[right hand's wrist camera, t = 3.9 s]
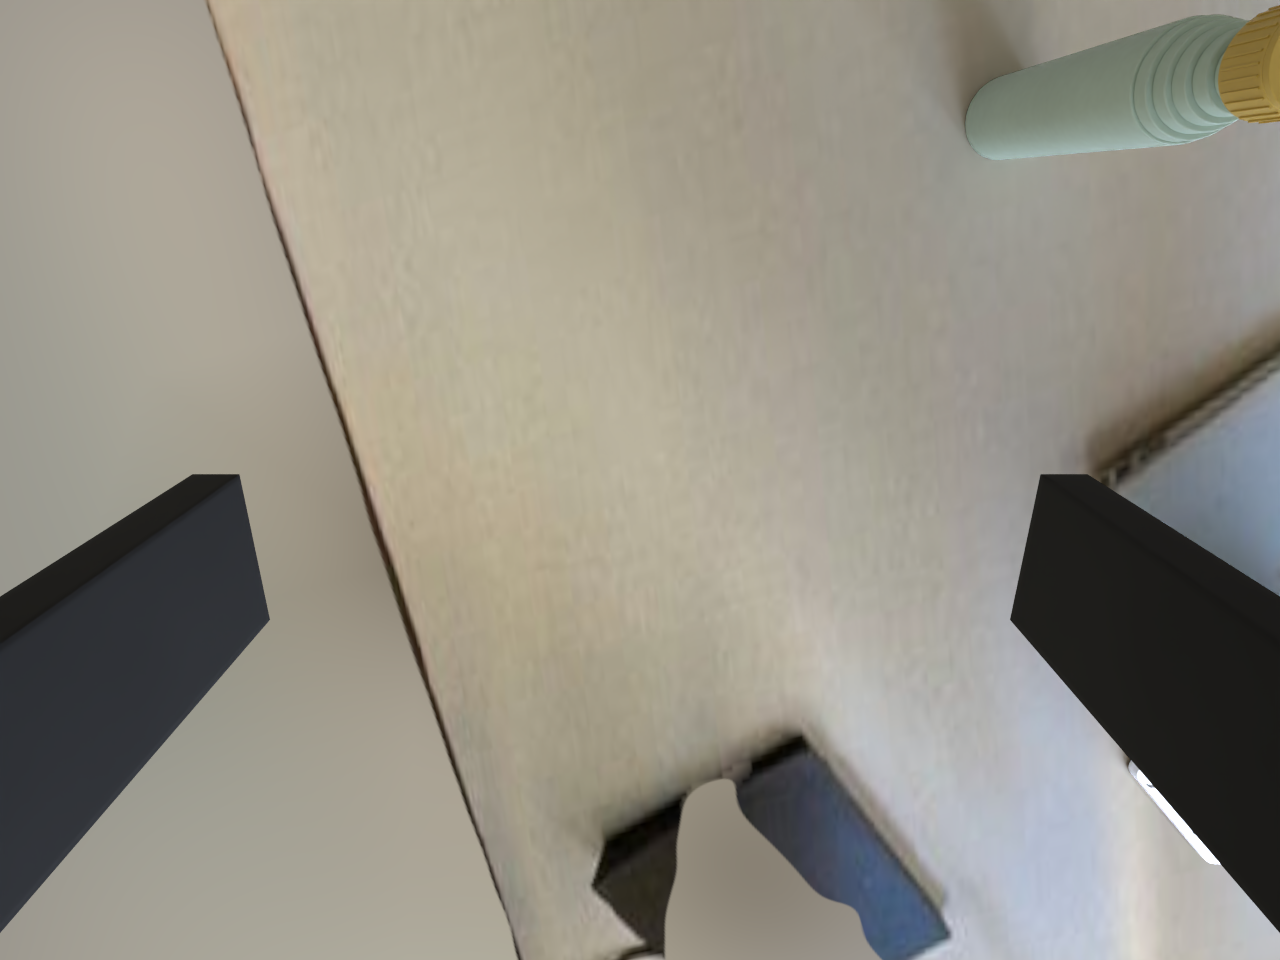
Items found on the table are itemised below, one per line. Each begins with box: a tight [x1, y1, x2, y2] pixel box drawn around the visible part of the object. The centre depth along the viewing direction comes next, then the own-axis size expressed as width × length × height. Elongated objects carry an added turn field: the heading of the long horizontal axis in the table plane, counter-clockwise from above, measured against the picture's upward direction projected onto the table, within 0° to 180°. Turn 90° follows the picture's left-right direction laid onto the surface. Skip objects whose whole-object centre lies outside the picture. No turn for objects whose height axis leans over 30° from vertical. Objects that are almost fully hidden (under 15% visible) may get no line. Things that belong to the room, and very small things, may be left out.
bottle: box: [965, 15, 1249, 160], centre depth 36 cm, size 5×5×23 cm
